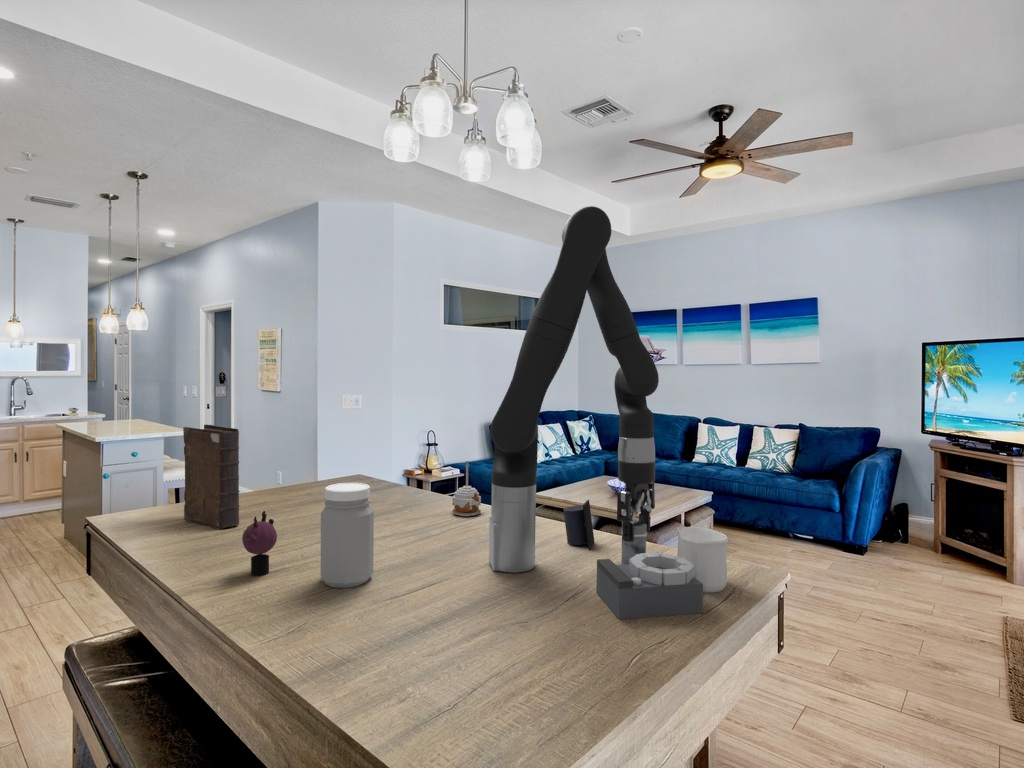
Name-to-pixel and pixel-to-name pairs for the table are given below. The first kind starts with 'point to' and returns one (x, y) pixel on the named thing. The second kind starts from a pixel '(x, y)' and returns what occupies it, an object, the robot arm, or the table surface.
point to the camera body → (649, 586)
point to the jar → (347, 535)
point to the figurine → (259, 544)
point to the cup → (705, 555)
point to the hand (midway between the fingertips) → (636, 535)
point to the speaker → (579, 525)
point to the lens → (634, 542)
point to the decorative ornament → (466, 500)
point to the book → (211, 476)
